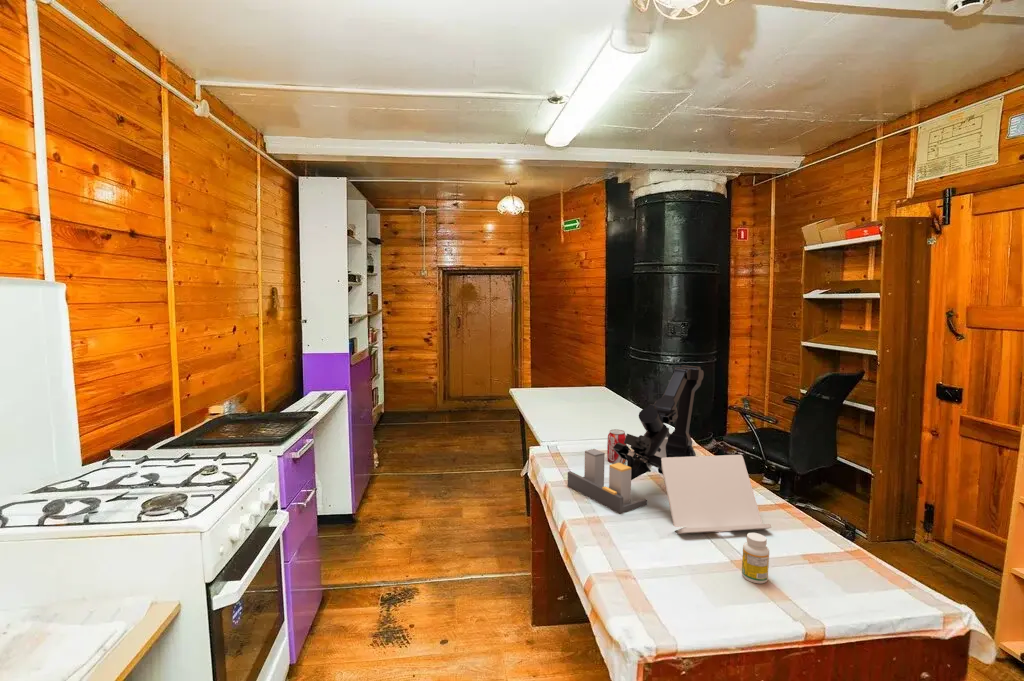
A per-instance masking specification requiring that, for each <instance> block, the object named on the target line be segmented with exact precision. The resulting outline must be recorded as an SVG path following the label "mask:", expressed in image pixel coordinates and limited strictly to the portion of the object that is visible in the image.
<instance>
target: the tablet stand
mask: <svg viewBox="0 0 1024 681" xmlns="http://www.w3.org/2000/svg"><path fill="white" fill-rule="evenodd" d="M661 461H662V462H661V467H662V472H663V474H662V476H663V481H664V486H665V490H666V496H667V500H668V505H669V510H670V514H671V520H672V525H673V526H674V527H675V528H679V527H680V528H679V529H676V530H674V532H675V534H677V535H682V534H683V535H684V534H685V535H686V534H703V533H704V534H705V533H719V532H720V533H721V532H722V533H723V532H737V531H739V532H740V531H756V530H757V531H760V530H768V529H771V528H772V525H771V523H763V520H762V517H761V514H760V510H759V507H758V503H757V500H756V496H755V493H754V491H753V490H754V489H753V487H752V483H751V480H750V475H749V473H748V470H747V465H746V462H745V459H744V456H743V455H742V454H724V455H701V456H699V455H698V456H697V455H696V456H692V457H665V458H661Z"/></svg>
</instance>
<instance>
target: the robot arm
mask: <svg viewBox="0 0 1024 681" xmlns="http://www.w3.org/2000/svg"><path fill="white" fill-rule="evenodd" d="M704 374H705V372H704V370H703V369H702V368H701V366H693V365H684V364H682V365H680V367H678V366H677V367H674V368H673V370H672V376H671V378H670V380H669V382H668V385H667V387H666V388H665V391H664V393H663V395H662V397H660V398H658V399H657V400H656V401H655V402H654V404H651V403H650V404H648V406H647V407H644V408H643V409H641V410H640V411H639V413H638V419H639V421H640V423H641V425H642V427H643V428H644V430H645V433H644V434H643V435H641V434H640V435H639V436H636V435H633V434H630V433H626V434H625V435H626V438H625V441H624V444H627V445H624V444H622V443H616V445H615V446H614V448H613V449H614V450H615V451H616V453H617V454H618V455H619V456H620V457H621V458H622V459H625V460H626V461H627V464H626V465H627V466H629V467H631V481H632V480H635V479H636V478H638V477H640V476H642V475H644V474H647V473H651V471H652V470H651V468H652V467H655V468H657V471H658V473H659V474H660V475H663V472H662V467H661V462H662V461H661V457H658V456H655V453H656V452H660V451H661V449H660V448H659V447H660V445H661V444H662V442H663V441H664V439H665V437H666V436H667V437H668V442H667V443H666V457H692V456H697V454H696V451H695V450H694V447H693V439H692V438H691V435H690V426H691V425H690V424H691V420H692V413H693V405H694V399H695V398H694V397H695V393H696V391H697V390H698V389H699V388H700V387H701V385H702V381H703V379H704ZM677 405H678V406H677ZM674 423H675V425H674ZM666 424H668V425H674V430H673V431H672V434H670V433H671V432H670V428H669V427H667V425H666ZM628 445H629V446H630V447H629V446H628Z"/></svg>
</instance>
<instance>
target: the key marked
mask: <svg viewBox="0 0 1024 681" xmlns="http://www.w3.org/2000/svg"><path fill="white" fill-rule="evenodd" d="M608 472H609V475H608V477H609V478H608V479H609V480H608V488H610V489H612V490H614V491H616V492H617V494H618V495H620V496H622V497H623V505H625V504H628V503H632V500H631V496H632V495H631V494H632V480H631V467H629V466H627V464H625V463H623V464H622V463H615V464H612V463H610V464H609V470H608Z"/></svg>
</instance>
